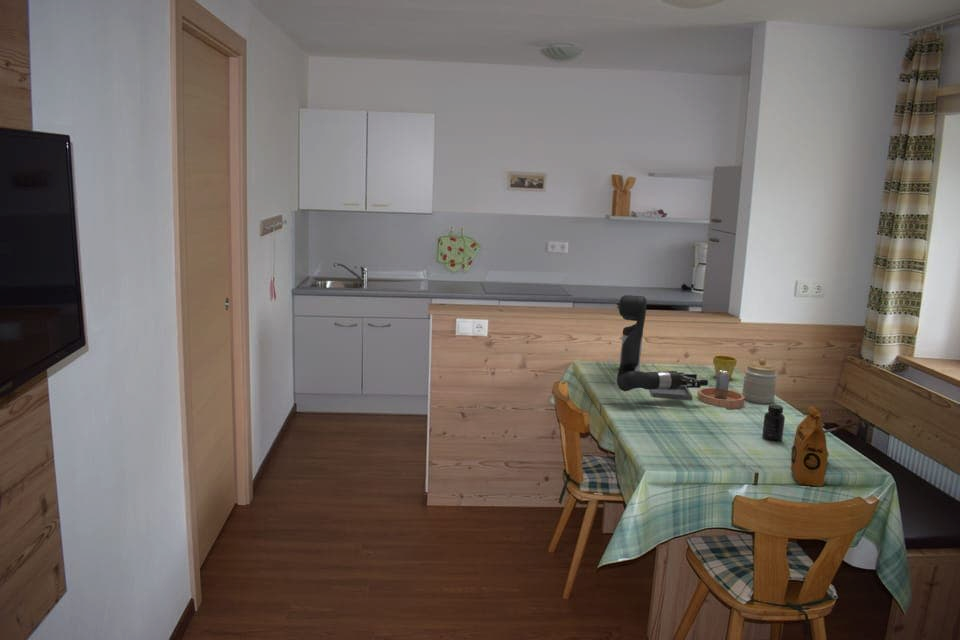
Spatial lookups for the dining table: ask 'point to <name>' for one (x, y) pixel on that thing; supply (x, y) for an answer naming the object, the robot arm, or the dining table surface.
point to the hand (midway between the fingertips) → (701, 379)
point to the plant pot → (724, 364)
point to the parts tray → (673, 393)
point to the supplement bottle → (773, 423)
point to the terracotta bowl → (732, 401)
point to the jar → (759, 382)
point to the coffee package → (810, 451)
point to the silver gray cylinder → (722, 385)
